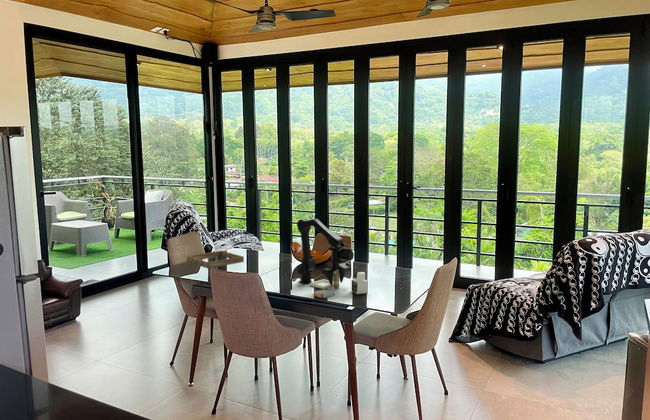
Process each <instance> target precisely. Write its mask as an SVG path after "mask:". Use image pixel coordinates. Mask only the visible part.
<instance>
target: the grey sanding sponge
mask: <svg viewBox="0 0 650 420" xmlns="http://www.w3.org/2000/svg"><path fill="white" fill-rule="evenodd" d="M322 290H323V289H322ZM334 296H336V289H335V288H334V287H331V288H327V289H324V290H323V297H322V299H327V298H331V297H334Z"/></svg>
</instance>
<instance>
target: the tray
mask: <svg viewBox="0 0 650 420" xmlns="http://www.w3.org/2000/svg"><path fill="white" fill-rule="evenodd" d="M309 286H310V287H313V288H317V289H320V290H323V289H324V290H327V289H330V288H334V281H333V284H332V285H330V283H329V280H328V279H324V278H323V279H319V280H316V281H312V282H311V283H309Z"/></svg>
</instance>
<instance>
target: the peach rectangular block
mask: <svg viewBox="0 0 650 420" xmlns="http://www.w3.org/2000/svg"><path fill="white" fill-rule="evenodd" d="M323 290H325V289H320V290H315V291H313V295H314V296H315V297H318V298H323Z"/></svg>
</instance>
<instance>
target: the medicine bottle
mask: <svg viewBox="0 0 650 420" xmlns="http://www.w3.org/2000/svg"><path fill="white" fill-rule="evenodd" d="M351 292H353V293H355V295H356V294H357V295H362V294H367V293H368V292H369V281H368V280H367V279H366V273H365V272H364V271H363V270H362V271H361V270H358V271H355V272H354V278H352V279H351Z"/></svg>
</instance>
